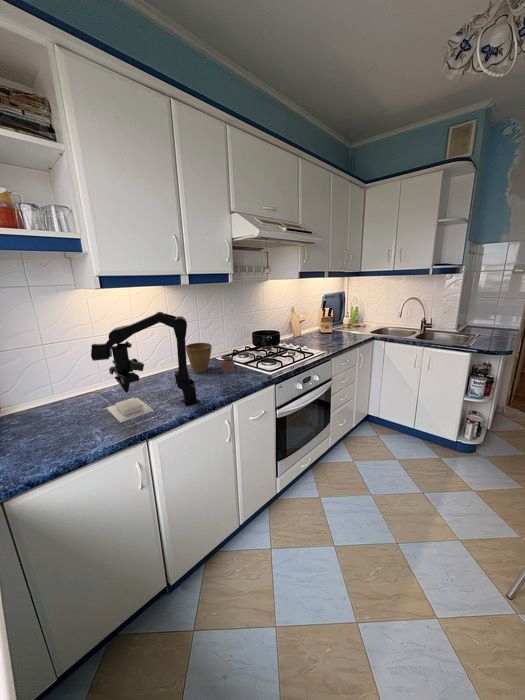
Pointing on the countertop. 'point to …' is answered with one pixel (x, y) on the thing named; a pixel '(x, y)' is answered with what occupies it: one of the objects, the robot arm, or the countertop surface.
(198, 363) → the plant pot
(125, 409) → the tile
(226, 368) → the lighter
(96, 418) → the countertop surface
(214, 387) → the countertop surface
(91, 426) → the countertop surface
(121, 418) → the beige board
